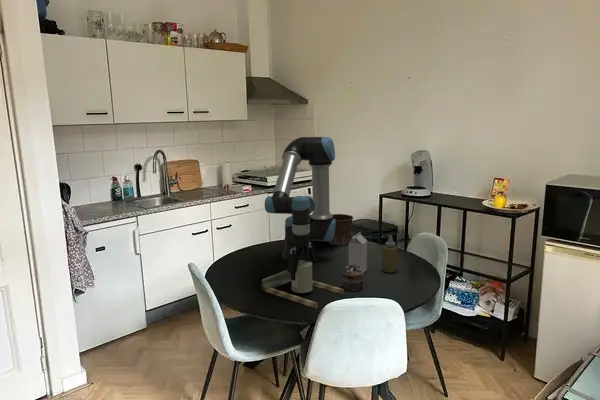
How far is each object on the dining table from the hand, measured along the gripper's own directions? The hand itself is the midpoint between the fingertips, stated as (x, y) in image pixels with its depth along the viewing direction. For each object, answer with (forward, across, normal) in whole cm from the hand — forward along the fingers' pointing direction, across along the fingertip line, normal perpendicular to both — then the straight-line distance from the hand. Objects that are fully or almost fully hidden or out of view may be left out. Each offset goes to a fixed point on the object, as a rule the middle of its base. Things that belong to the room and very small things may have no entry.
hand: (301, 283), depth 195 cm
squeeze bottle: (+4, +47, -17) cm, 50 cm away
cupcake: (+4, +18, -15) cm, 23 cm away
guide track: (+4, 0, 0) cm, 4 cm away
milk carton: (+4, +37, -5) cm, 37 cm away
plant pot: (+4, +72, +31) cm, 78 cm away
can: (+3, 0, 0) cm, 3 cm away
